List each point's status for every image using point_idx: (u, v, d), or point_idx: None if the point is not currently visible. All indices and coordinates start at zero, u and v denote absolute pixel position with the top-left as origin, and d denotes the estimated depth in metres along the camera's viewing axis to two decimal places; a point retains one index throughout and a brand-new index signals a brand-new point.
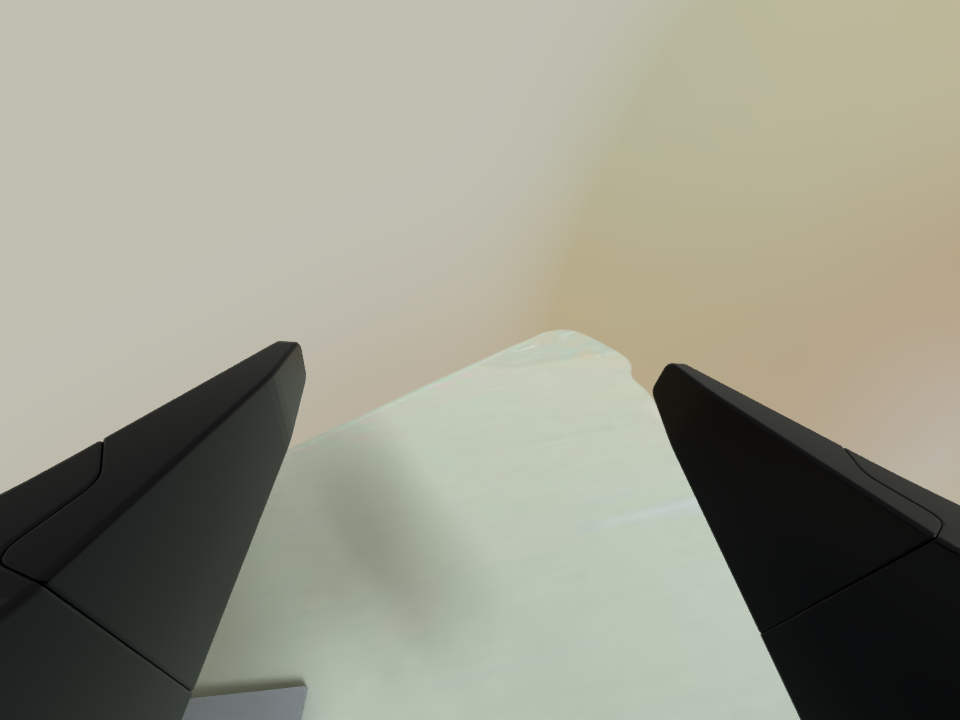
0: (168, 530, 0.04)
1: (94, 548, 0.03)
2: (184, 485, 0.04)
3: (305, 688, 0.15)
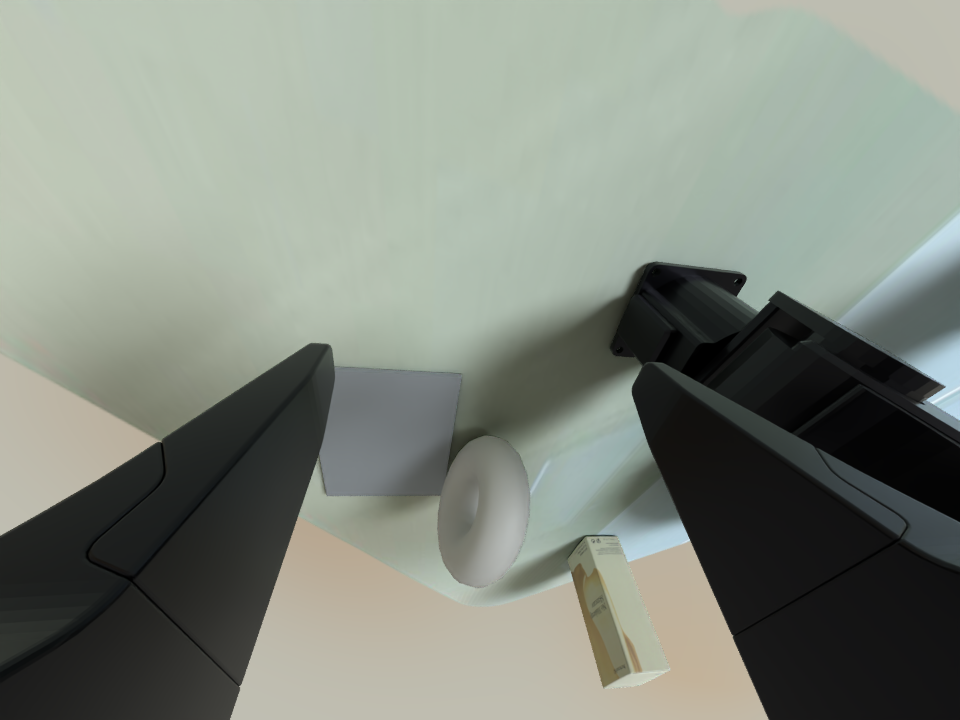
0: (227, 528, 0.04)
1: (170, 545, 0.03)
2: (240, 485, 0.04)
3: None
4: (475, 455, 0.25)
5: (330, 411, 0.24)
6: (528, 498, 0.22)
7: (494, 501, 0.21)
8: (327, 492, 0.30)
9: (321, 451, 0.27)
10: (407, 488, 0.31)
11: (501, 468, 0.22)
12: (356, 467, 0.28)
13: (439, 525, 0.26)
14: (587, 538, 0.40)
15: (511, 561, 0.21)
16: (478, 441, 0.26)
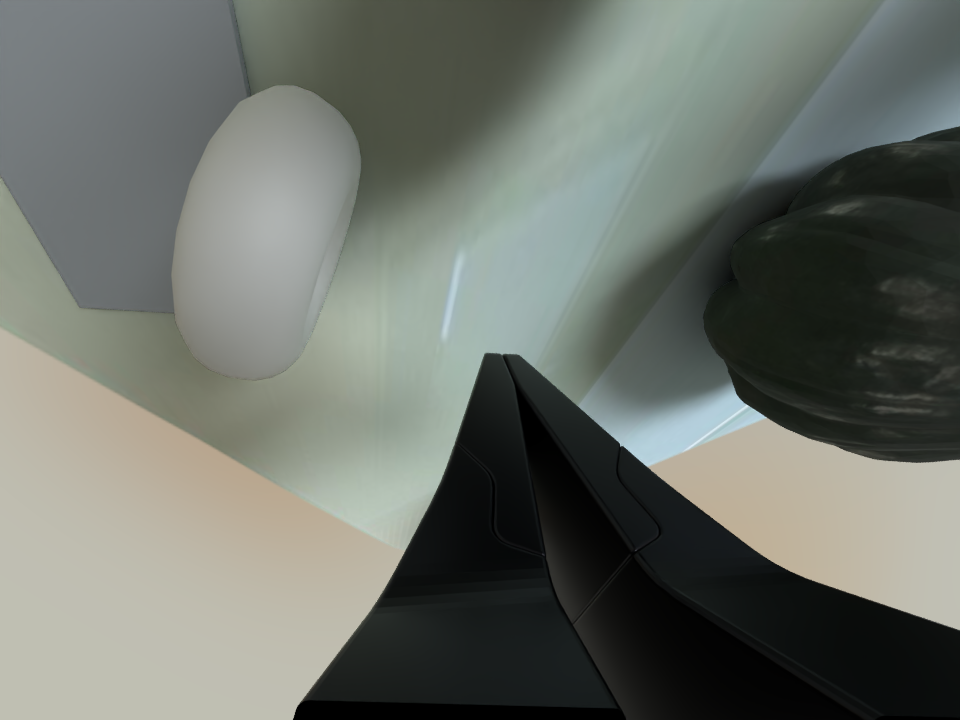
0: None
1: None
2: None
3: None
4: None
5: None
6: (331, 146, 0.10)
7: (228, 118, 0.09)
8: (76, 298, 0.18)
9: (7, 178, 0.14)
10: None
11: (273, 87, 0.10)
12: (101, 233, 0.16)
13: None
14: None
15: (267, 258, 0.09)
16: None
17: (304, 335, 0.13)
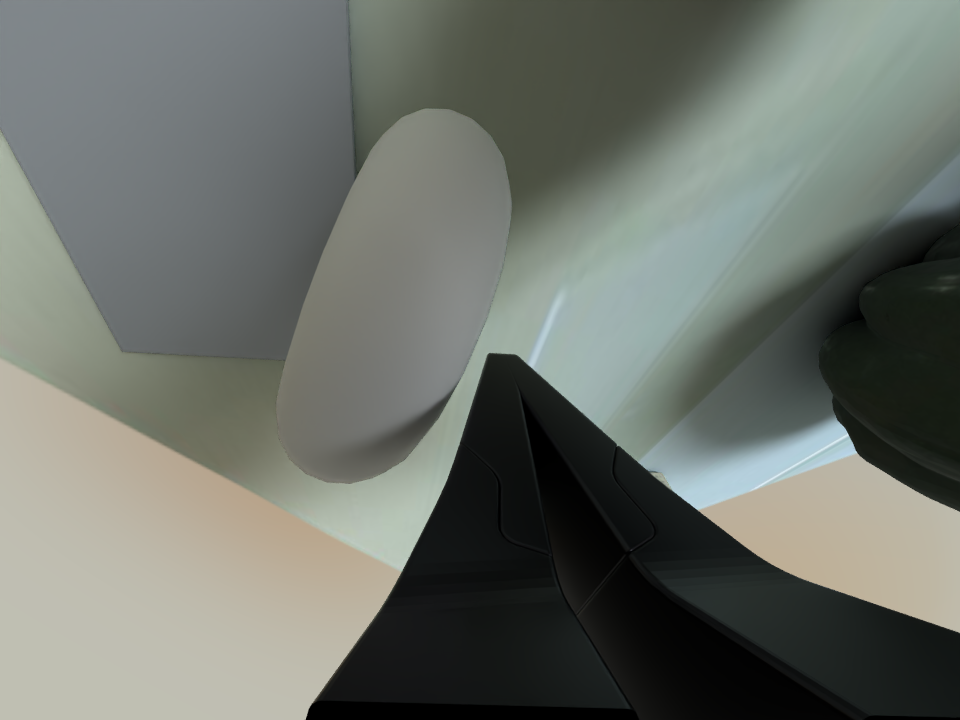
0: None
1: None
2: None
3: None
4: None
5: (6, 42, 0.09)
6: (504, 195, 0.07)
7: (381, 158, 0.06)
8: (119, 341, 0.15)
9: (50, 207, 0.12)
10: (287, 341, 0.16)
11: (425, 111, 0.07)
12: (157, 270, 0.13)
13: None
14: None
15: (429, 362, 0.06)
16: None
17: None
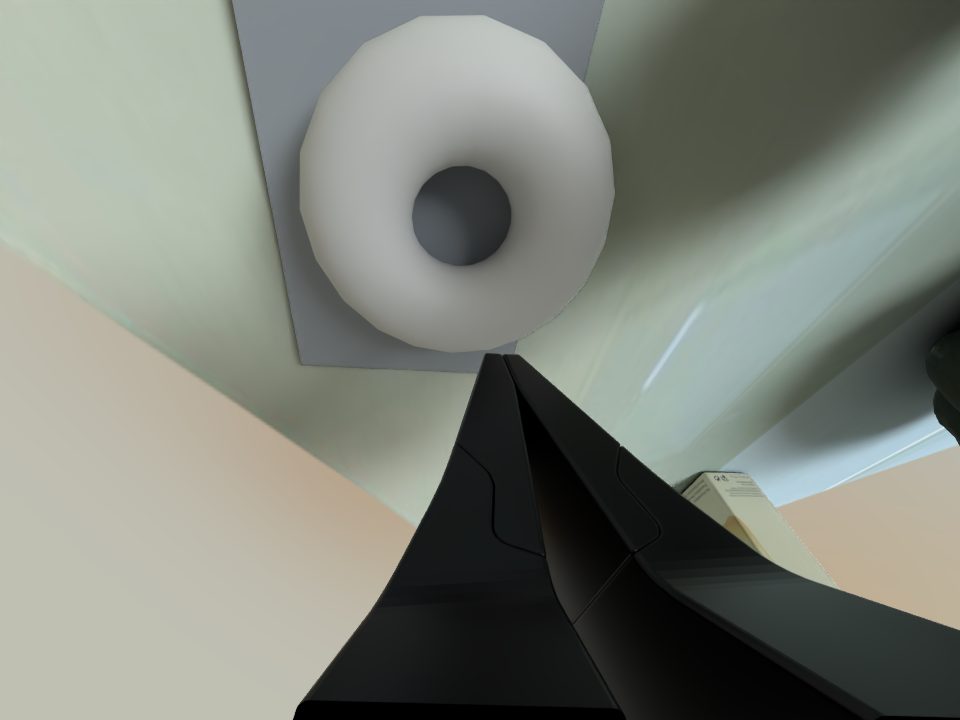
0: None
1: None
2: None
3: None
4: None
5: (294, 97, 0.11)
6: (529, 48, 0.08)
7: None
8: (302, 355, 0.16)
9: (282, 237, 0.13)
10: (448, 354, 0.17)
11: None
12: None
13: None
14: (707, 474, 0.26)
15: (373, 42, 0.08)
16: None
17: (370, 251, 0.10)
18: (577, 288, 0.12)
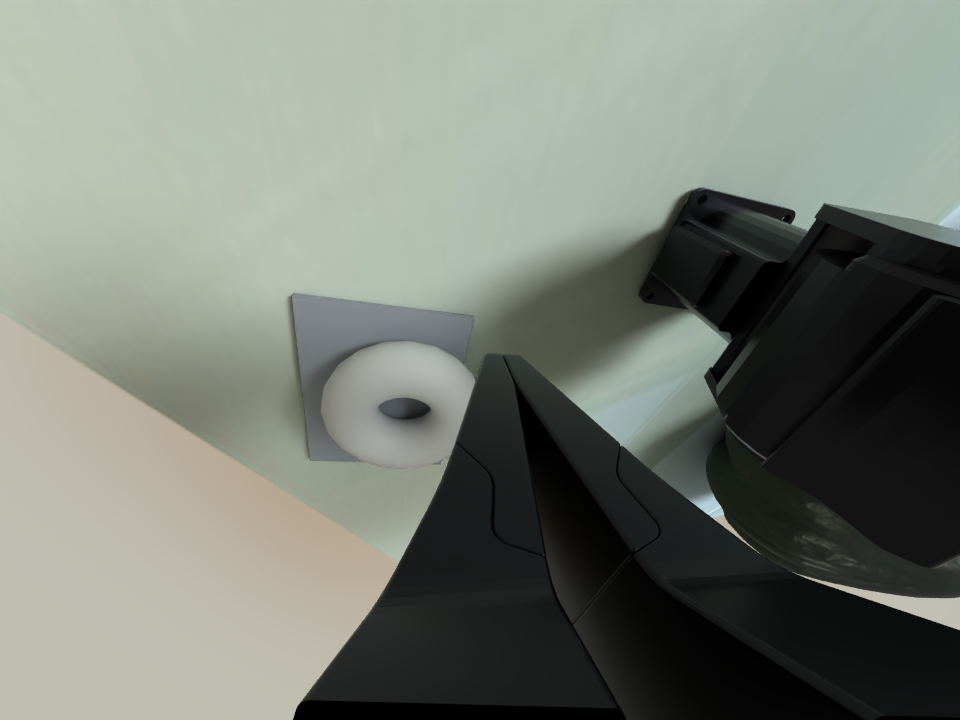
0: None
1: None
2: None
3: (293, 296, 0.19)
4: None
5: (320, 354, 0.21)
6: (429, 366, 0.19)
7: None
8: (311, 456, 0.27)
9: (307, 404, 0.24)
10: None
11: (451, 355, 0.22)
12: None
13: None
14: None
15: (360, 362, 0.19)
16: None
17: (355, 434, 0.21)
18: None
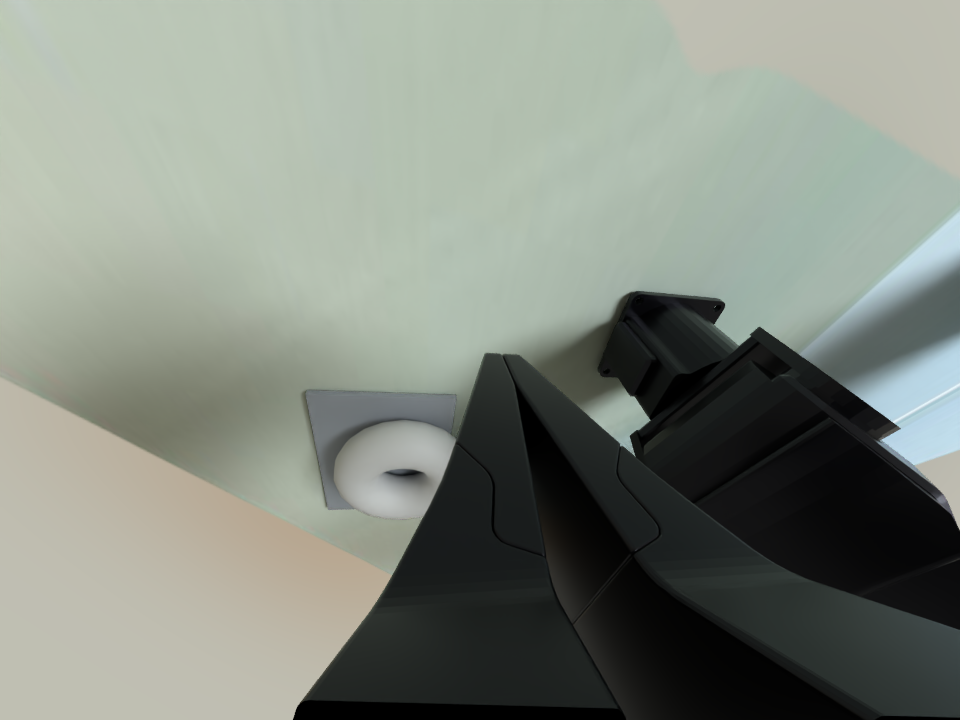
0: None
1: None
2: None
3: (306, 393, 0.23)
4: None
5: (331, 432, 0.26)
6: (419, 444, 0.23)
7: None
8: (328, 506, 0.31)
9: (322, 468, 0.28)
10: None
11: (439, 428, 0.26)
12: None
13: None
14: None
15: (363, 444, 0.23)
16: None
17: (362, 497, 0.25)
18: None
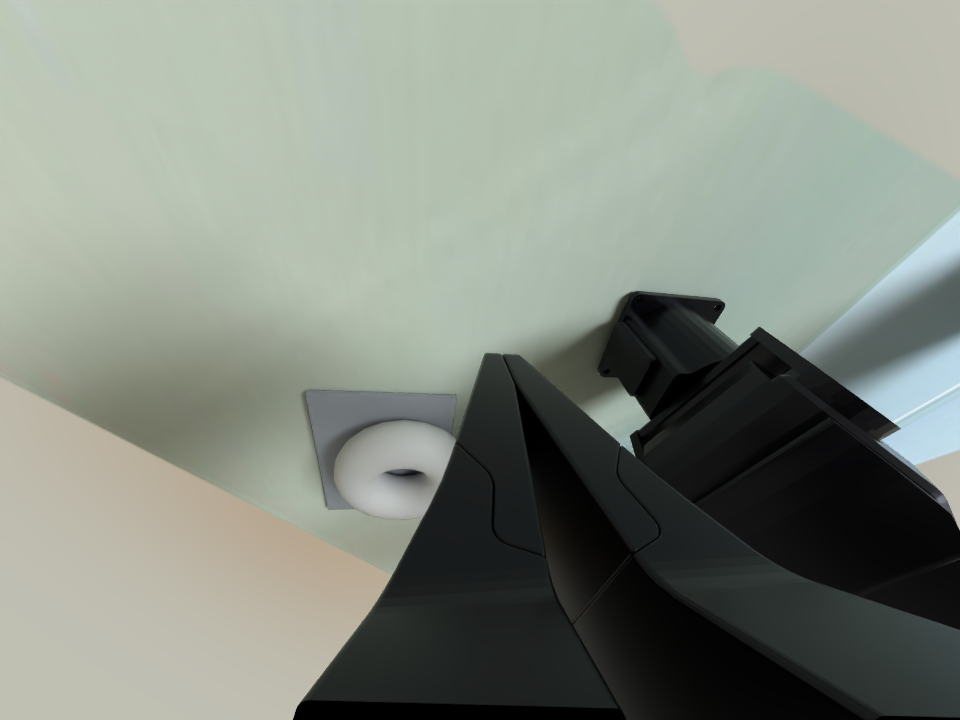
0: None
1: None
2: None
3: (306, 393, 0.23)
4: None
5: (331, 432, 0.26)
6: (419, 444, 0.23)
7: None
8: (328, 506, 0.31)
9: (322, 468, 0.28)
10: None
11: (439, 428, 0.26)
12: None
13: None
14: None
15: (363, 444, 0.23)
16: None
17: (362, 497, 0.25)
18: None
